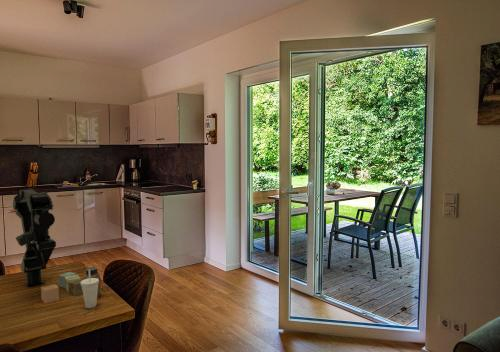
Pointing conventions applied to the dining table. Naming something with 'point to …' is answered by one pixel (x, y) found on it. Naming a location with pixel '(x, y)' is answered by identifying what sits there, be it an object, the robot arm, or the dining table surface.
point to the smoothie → (90, 291)
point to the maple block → (70, 278)
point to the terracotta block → (50, 293)
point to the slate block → (62, 278)
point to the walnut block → (75, 287)
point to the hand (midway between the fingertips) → (42, 261)
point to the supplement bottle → (93, 275)
